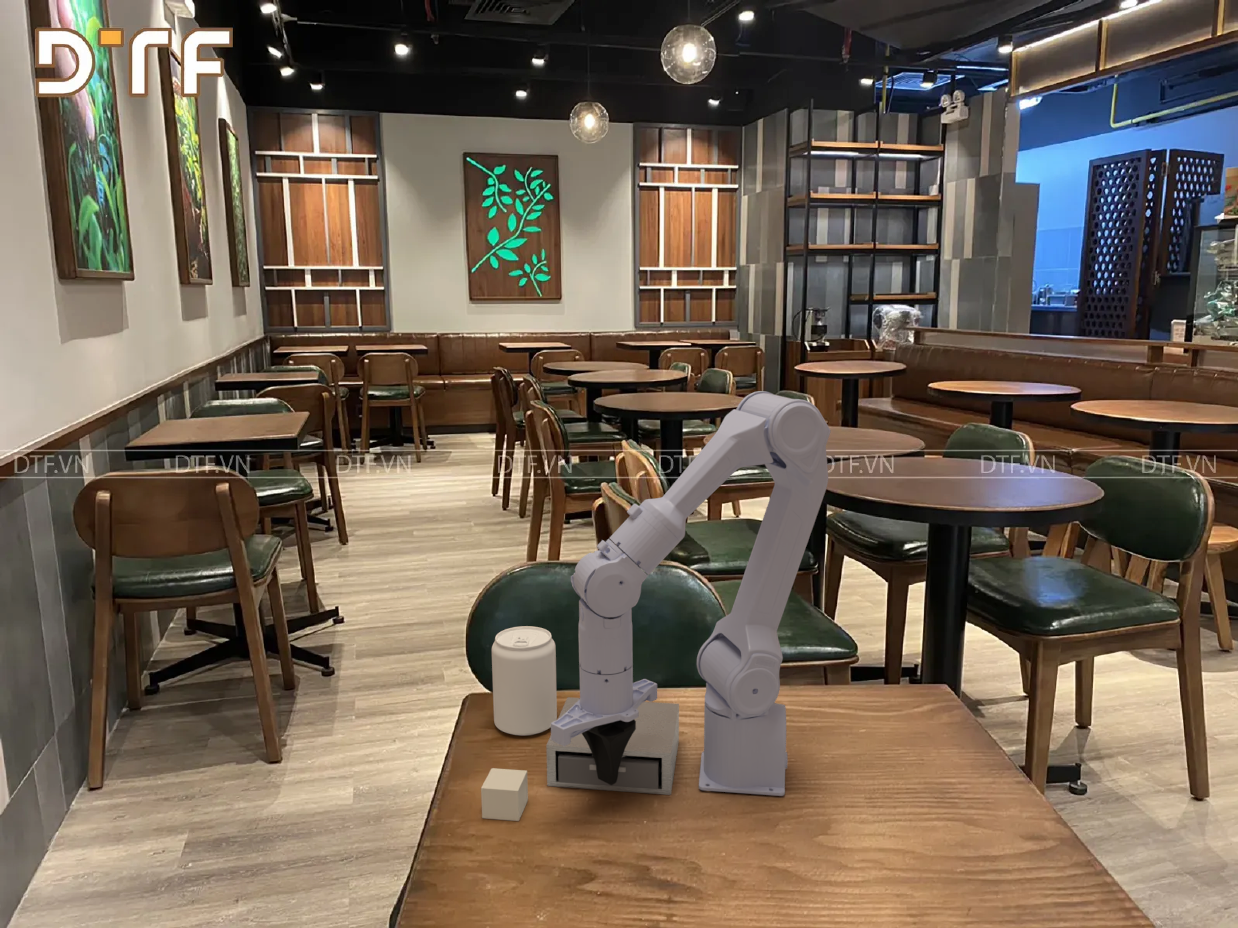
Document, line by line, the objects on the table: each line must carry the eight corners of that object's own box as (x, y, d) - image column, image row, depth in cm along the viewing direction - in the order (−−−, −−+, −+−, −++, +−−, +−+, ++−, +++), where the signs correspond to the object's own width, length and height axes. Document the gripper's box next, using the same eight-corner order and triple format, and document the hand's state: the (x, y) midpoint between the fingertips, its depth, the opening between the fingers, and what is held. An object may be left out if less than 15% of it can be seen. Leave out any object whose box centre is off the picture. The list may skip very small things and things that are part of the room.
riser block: (528, 799, 96) (527, 770, 95) (518, 821, 92) (518, 790, 91) (492, 797, 97) (491, 768, 96) (482, 818, 93) (481, 788, 92)
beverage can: (561, 710, 117) (560, 625, 114) (551, 740, 109) (549, 650, 107) (502, 708, 118) (499, 623, 115) (487, 738, 110) (484, 648, 107)
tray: (666, 739, 107) (666, 716, 107) (657, 790, 96) (657, 765, 96) (577, 733, 109) (576, 711, 108) (558, 783, 98) (557, 758, 97)
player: (678, 741, 108) (679, 703, 108) (670, 794, 97) (671, 753, 96) (568, 734, 110) (567, 697, 109) (547, 785, 99) (546, 745, 98)
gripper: (583, 697, 85) (586, 823, 88) (678, 653, 96) (677, 767, 98) (535, 677, 90) (539, 797, 93) (630, 637, 100) (631, 746, 103)
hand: (607, 780), depth 96 cm, fingers closed, pressing on tray
